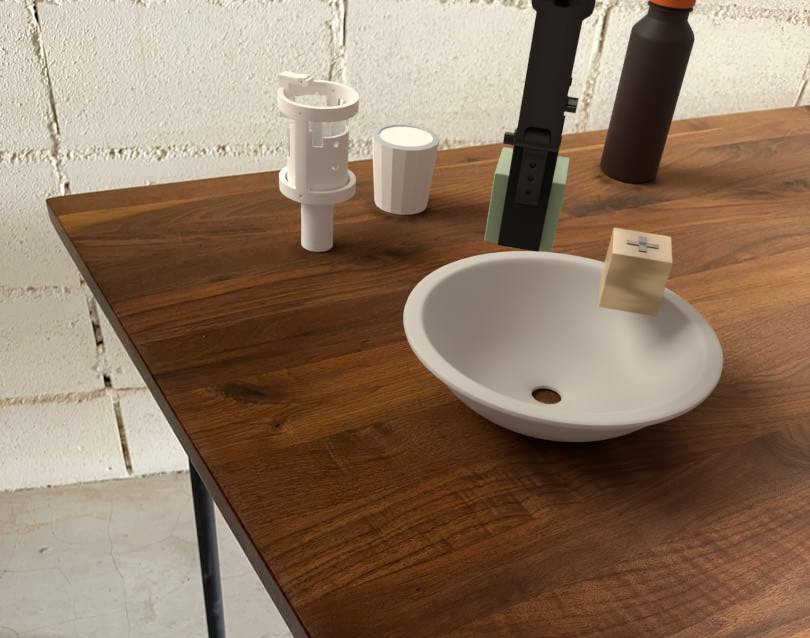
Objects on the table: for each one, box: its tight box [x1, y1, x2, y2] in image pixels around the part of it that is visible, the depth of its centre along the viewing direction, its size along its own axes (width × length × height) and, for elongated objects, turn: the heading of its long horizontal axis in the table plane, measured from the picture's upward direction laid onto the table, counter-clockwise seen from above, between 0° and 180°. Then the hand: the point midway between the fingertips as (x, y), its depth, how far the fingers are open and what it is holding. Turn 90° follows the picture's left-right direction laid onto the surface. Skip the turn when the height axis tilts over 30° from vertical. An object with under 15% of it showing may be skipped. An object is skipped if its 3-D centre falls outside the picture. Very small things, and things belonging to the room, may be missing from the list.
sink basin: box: [402, 250, 724, 443], centre depth 69 cm, size 24×24×7 cm
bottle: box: [599, 0, 697, 184], centre depth 98 cm, size 7×7×20 cm
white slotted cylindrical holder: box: [276, 70, 360, 253], centre depth 81 cm, size 7×7×15 cm
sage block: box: [483, 146, 571, 253], centre depth 58 cm, size 4×4×5 cm
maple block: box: [598, 227, 674, 316], centre depth 69 cm, size 4×4×5 cm
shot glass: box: [371, 123, 441, 216], centre depth 92 cm, size 7×7×7 cm
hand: (522, 227), depth 59 cm, fingers closed on sage block, 4 cm apart
